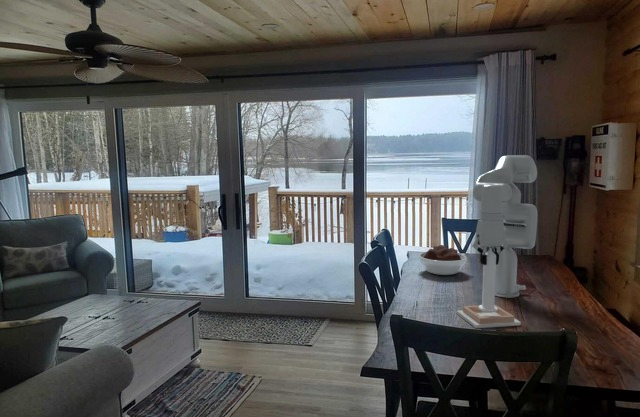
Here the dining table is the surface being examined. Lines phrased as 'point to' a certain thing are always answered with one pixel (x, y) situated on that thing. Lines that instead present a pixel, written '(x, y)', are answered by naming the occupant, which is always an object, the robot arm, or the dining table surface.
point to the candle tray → (487, 317)
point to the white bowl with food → (442, 260)
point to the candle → (489, 283)
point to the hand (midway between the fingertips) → (489, 263)
